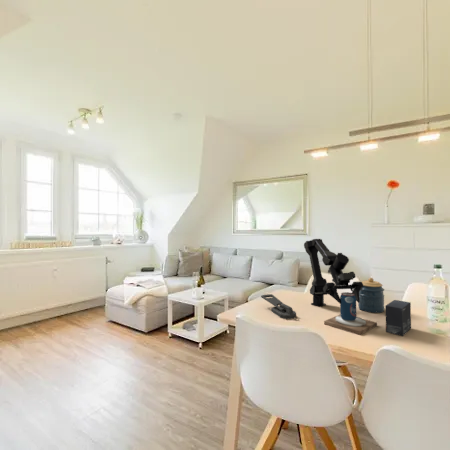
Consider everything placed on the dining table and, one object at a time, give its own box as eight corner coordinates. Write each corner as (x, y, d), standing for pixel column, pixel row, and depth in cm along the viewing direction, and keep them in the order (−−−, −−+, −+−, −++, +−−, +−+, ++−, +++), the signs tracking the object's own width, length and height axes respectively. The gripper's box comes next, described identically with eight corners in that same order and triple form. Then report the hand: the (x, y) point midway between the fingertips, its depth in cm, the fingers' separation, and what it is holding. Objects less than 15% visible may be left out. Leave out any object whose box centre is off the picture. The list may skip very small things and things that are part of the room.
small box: (394, 324, 131) (394, 299, 131) (411, 328, 126) (411, 302, 126) (385, 332, 122) (385, 305, 122) (403, 336, 117) (402, 308, 117)
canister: (363, 304, 164) (362, 274, 164) (387, 309, 154) (387, 277, 154) (354, 309, 154) (354, 277, 154) (380, 314, 145) (379, 281, 145)
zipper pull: (272, 293, 165) (298, 304, 142) (272, 304, 165) (299, 317, 142) (259, 295, 162) (284, 306, 139) (259, 306, 162) (284, 320, 139)
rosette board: (342, 316, 143) (342, 311, 143) (377, 325, 130) (376, 319, 130) (324, 324, 132) (324, 318, 132) (360, 335, 119) (360, 328, 119)
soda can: (355, 322, 126) (354, 296, 126) (338, 320, 130) (338, 294, 130) (357, 318, 132) (357, 293, 132) (342, 315, 136) (341, 291, 136)
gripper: (325, 266, 135) (337, 294, 124) (361, 265, 137) (376, 293, 127) (318, 279, 143) (328, 306, 132) (352, 278, 145) (365, 305, 135)
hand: (349, 302), depth 131 cm, fingers open, 9 cm apart
